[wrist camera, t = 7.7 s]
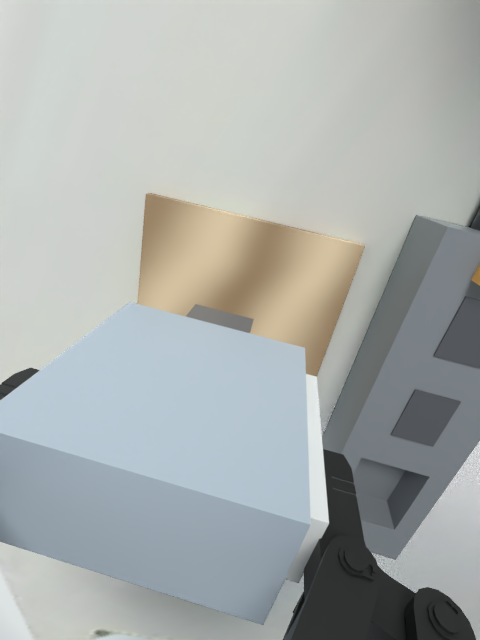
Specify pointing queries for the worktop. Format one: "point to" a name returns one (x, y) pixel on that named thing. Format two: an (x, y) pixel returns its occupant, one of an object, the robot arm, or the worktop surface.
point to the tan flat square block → (246, 272)
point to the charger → (164, 457)
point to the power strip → (414, 385)
